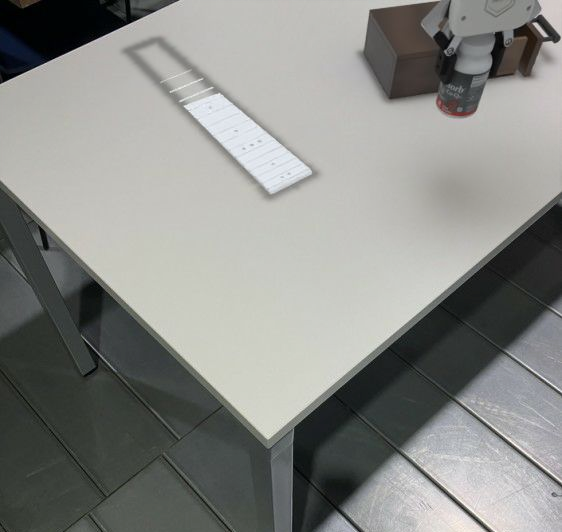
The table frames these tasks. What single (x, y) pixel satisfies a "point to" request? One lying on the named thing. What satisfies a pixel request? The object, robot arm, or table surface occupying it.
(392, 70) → the cabinet
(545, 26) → the drawer
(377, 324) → the table surface
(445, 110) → the pill bottle
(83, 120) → the table surface
